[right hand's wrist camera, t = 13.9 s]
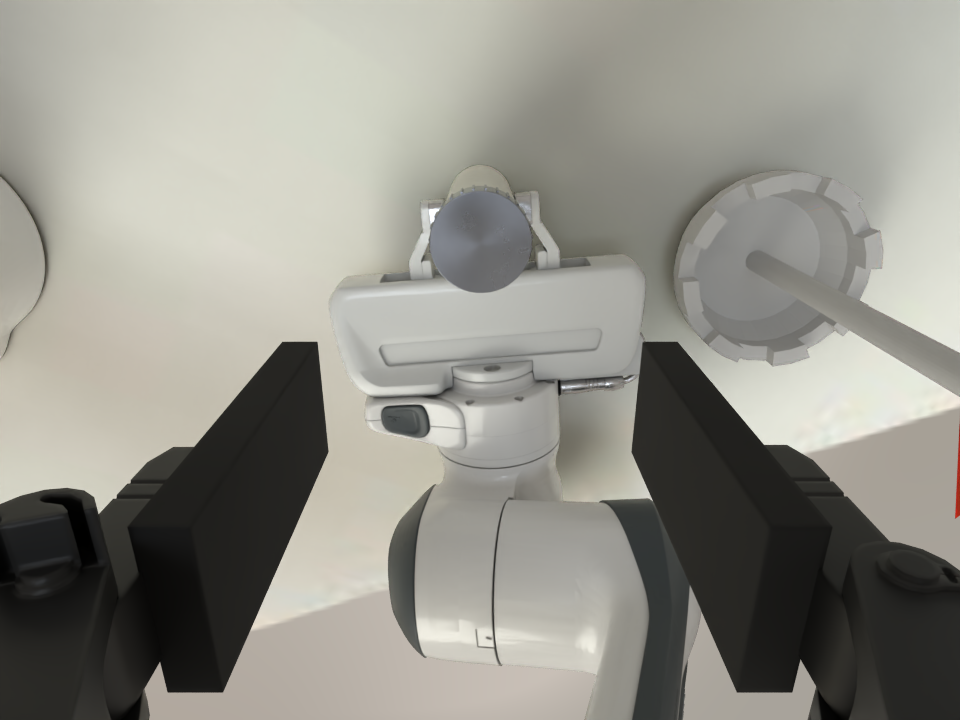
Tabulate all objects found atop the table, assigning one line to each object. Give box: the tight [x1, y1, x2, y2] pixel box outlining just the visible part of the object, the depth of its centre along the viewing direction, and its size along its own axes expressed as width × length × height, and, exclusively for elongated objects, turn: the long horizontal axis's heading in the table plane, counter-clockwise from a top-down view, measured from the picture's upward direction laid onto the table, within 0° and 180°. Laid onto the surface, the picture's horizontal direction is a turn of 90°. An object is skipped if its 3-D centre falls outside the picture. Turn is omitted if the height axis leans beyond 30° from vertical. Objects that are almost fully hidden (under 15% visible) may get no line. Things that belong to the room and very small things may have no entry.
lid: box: [428, 185, 533, 293], centre depth 31 cm, size 5×5×2 cm
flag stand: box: [673, 170, 960, 518], centre depth 33 cm, size 13×13×30 cm
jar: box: [446, 165, 515, 200], centre depth 38 cm, size 4×4×16 cm
